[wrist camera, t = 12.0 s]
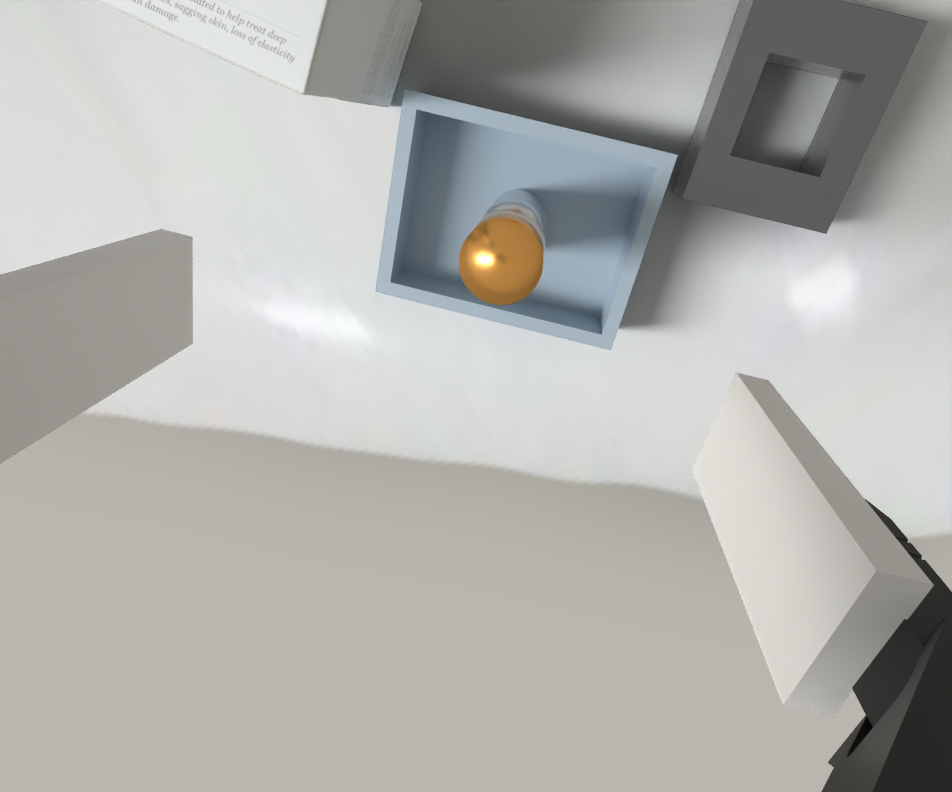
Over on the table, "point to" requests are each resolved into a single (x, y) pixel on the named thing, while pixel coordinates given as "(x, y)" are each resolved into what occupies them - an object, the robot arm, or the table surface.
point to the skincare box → (296, 40)
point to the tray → (532, 169)
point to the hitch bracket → (842, 126)
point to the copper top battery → (506, 249)
